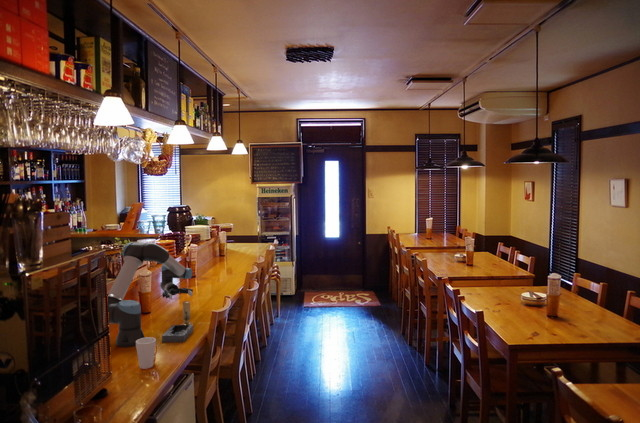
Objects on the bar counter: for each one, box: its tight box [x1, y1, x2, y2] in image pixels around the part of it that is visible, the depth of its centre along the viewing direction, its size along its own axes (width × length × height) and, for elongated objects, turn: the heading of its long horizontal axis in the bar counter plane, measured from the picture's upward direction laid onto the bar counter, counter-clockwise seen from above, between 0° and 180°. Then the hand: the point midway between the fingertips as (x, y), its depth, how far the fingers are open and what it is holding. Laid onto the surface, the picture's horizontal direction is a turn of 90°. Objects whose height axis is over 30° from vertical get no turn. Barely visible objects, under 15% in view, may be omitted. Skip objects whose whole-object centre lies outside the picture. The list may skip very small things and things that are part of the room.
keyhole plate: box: [161, 324, 194, 343], centre depth 262 cm, size 19×12×4 cm, turn 1°
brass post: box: [181, 300, 193, 325], centre depth 282 cm, size 6×6×15 cm
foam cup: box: [135, 336, 157, 370], centre depth 219 cm, size 10×9×13 cm
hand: (181, 295), depth 290 cm, fingers open, 13 cm apart
